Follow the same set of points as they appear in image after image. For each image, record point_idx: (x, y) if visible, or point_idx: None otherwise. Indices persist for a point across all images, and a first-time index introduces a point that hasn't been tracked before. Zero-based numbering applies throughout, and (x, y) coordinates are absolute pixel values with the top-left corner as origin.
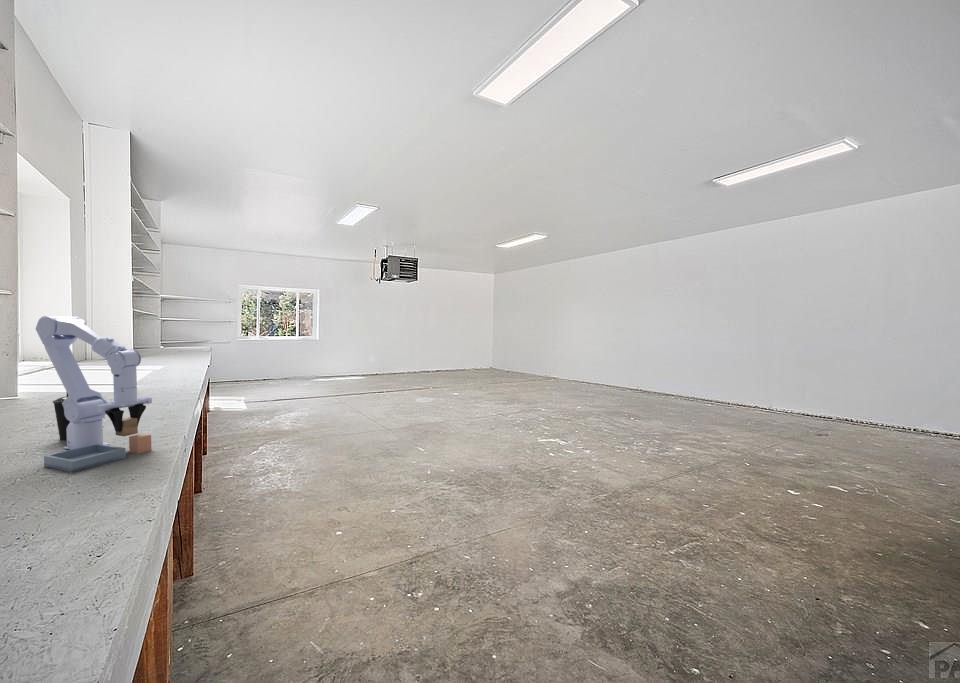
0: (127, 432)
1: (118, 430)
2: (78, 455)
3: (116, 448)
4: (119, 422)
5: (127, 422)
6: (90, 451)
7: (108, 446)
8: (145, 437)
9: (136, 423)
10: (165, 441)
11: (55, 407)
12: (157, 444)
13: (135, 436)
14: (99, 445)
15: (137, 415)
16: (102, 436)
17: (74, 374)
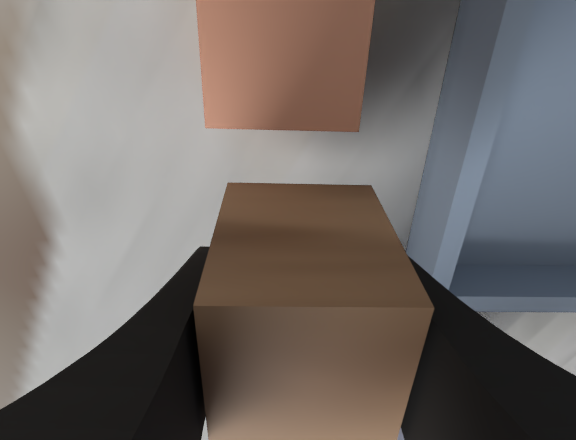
0: (340, 200)
1: None
2: (529, 267)
3: (519, 38)
4: (468, 314)
5: (361, 278)
6: (467, 270)
7: (486, 163)
8: None
9: (225, 248)
10: (17, 122)
11: None
12: (100, 96)
13: (327, 68)
14: (453, 265)
15: (168, 358)
16: None
17: None
